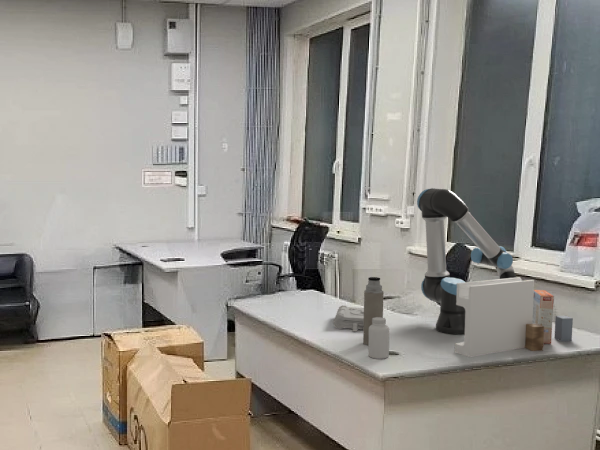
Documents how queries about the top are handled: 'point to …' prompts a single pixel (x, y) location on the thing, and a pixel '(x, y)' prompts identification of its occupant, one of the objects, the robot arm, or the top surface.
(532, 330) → the walnut block
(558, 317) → the slate block
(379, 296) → the thermos bottle
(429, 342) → the top surface
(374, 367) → the top surface
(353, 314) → the gray tool case
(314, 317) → the top surface
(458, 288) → the block
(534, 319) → the cracker box
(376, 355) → the pill bottle
